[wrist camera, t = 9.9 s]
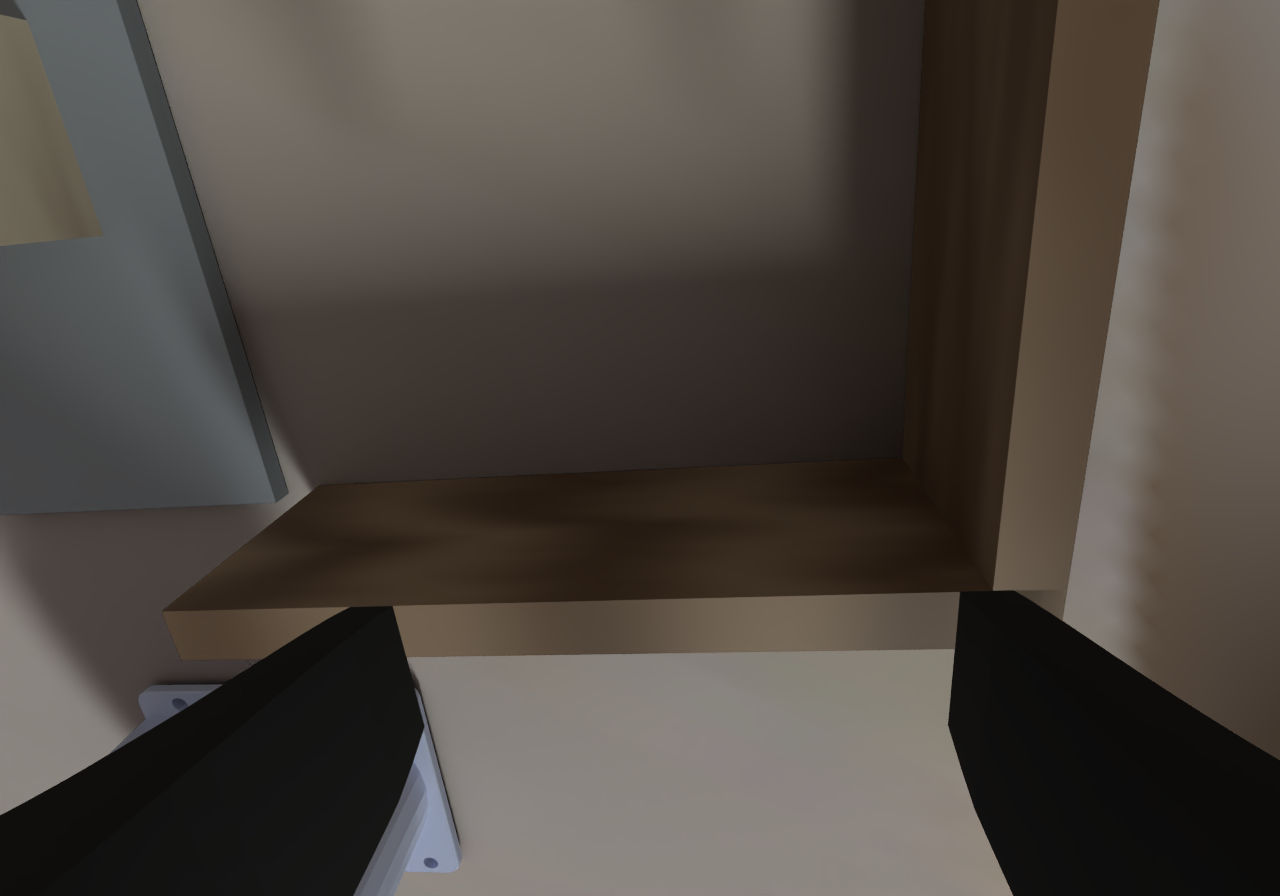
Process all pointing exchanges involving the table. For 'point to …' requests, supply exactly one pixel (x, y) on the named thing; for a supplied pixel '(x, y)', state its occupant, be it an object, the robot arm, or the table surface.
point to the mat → (122, 306)
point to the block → (36, 151)
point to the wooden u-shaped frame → (807, 491)
